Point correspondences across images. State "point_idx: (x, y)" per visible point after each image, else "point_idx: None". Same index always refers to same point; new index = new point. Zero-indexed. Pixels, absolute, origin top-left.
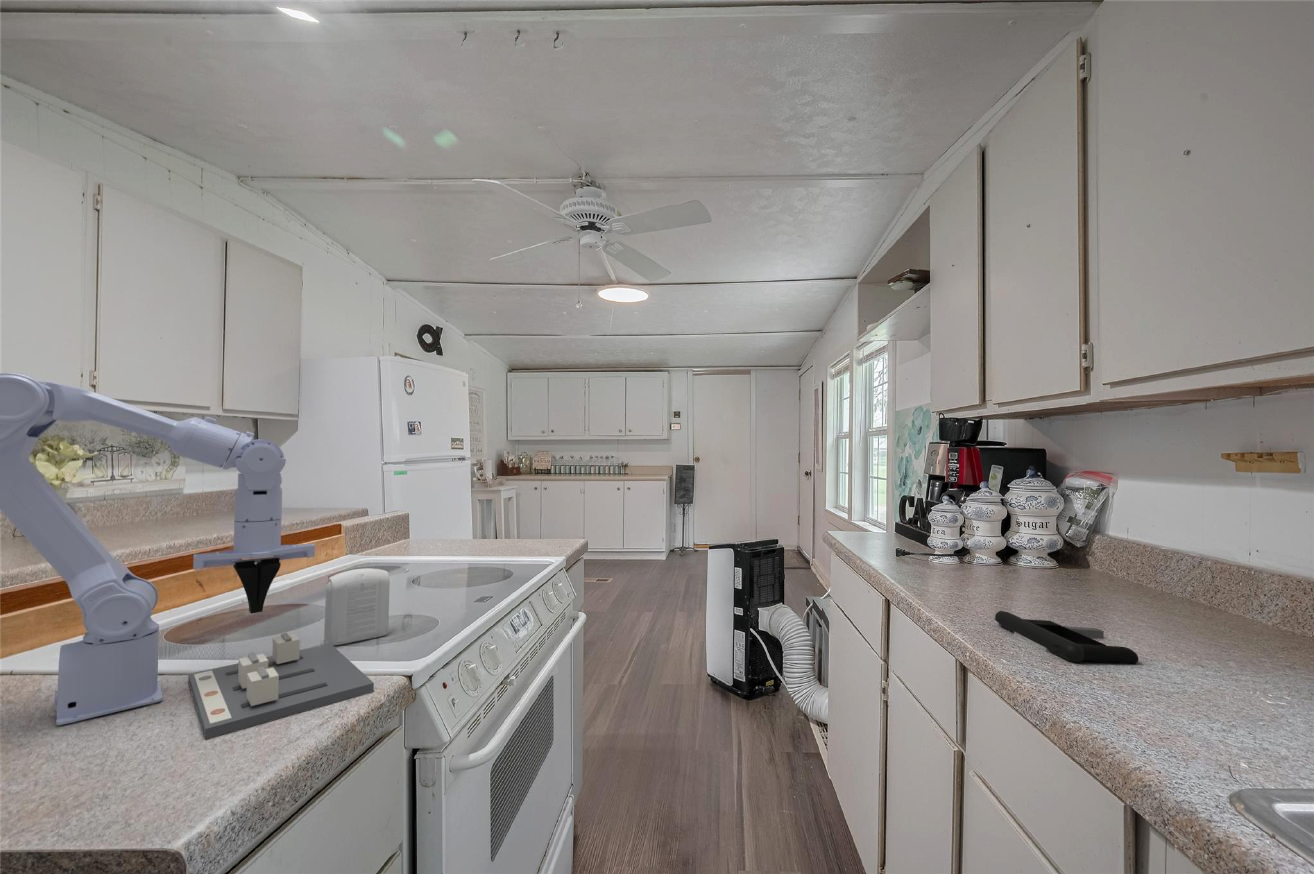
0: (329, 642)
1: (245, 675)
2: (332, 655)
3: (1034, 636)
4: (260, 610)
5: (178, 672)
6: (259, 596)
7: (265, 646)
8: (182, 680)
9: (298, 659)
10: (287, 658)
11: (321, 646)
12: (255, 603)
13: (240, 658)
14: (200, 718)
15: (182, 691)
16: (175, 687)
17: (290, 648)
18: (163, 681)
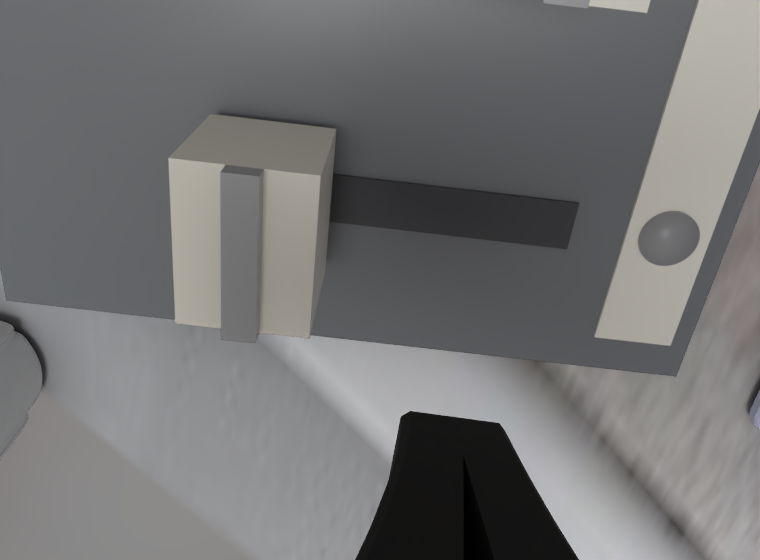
0: (11, 346)
1: None
2: (18, 57)
3: None
4: (422, 423)
5: (629, 500)
6: (454, 539)
7: (275, 551)
8: (663, 397)
9: None
10: (274, 129)
11: (57, 285)
12: (485, 484)
13: (635, 9)
14: None
15: (730, 252)
16: (721, 331)
17: (243, 148)
18: (712, 442)
